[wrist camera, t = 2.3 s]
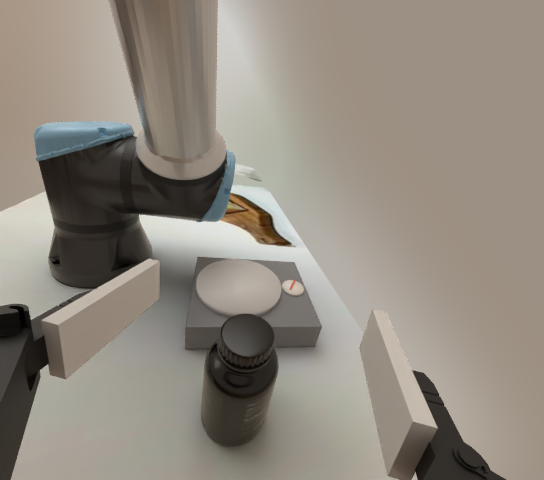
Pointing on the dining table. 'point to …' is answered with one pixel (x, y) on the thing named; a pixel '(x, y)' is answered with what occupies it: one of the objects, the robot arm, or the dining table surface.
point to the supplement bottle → (239, 380)
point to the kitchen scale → (250, 301)
